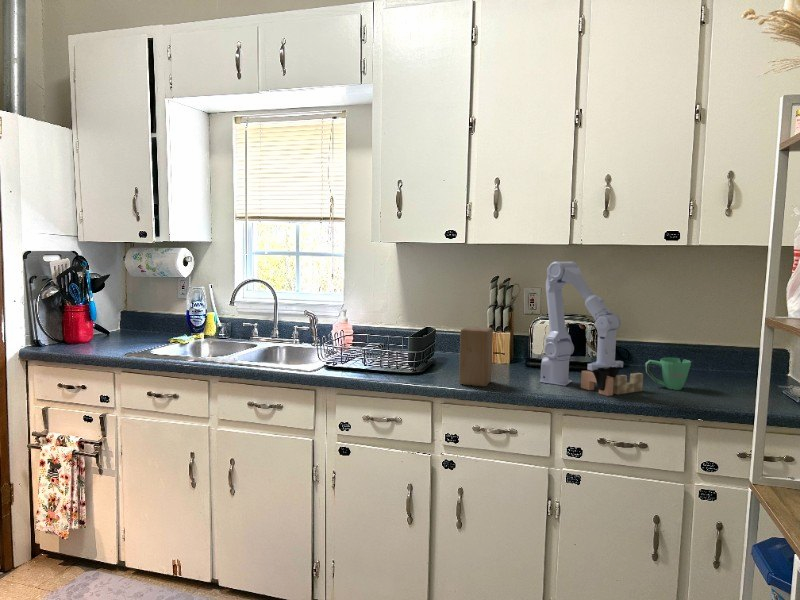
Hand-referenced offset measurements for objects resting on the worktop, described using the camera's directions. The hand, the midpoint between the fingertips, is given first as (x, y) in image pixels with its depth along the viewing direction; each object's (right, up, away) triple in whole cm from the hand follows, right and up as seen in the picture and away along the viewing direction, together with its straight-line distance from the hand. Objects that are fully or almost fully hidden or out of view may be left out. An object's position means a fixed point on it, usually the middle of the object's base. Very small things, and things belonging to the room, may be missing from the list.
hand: (604, 389), depth 190 cm
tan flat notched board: (-2, -1, +3) cm, 4 cm away
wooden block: (-42, 0, +13) cm, 44 cm away
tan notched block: (+9, -1, +3) cm, 10 cm away
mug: (+26, -1, +10) cm, 28 cm away
